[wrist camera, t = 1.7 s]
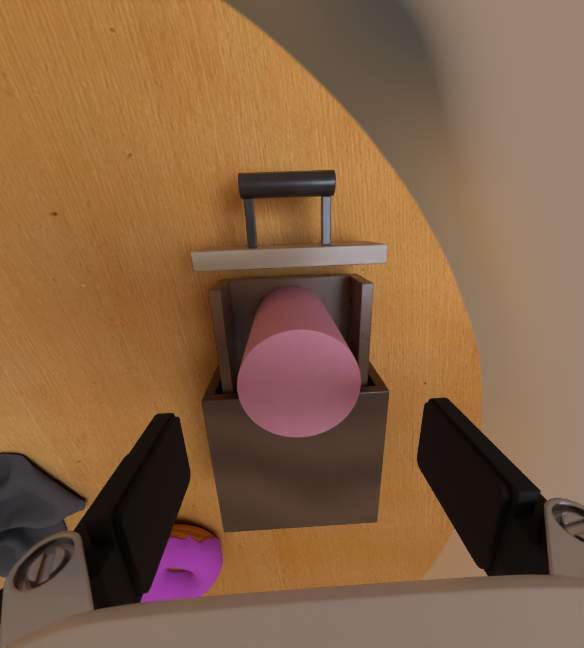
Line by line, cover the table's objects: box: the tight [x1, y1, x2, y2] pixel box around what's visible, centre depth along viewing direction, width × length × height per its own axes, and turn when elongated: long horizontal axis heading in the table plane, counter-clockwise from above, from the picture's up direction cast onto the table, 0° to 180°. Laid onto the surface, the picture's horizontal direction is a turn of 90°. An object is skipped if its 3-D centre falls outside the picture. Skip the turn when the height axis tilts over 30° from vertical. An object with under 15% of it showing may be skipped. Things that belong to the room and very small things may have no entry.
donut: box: [141, 524, 223, 602], centre depth 31 cm, size 10×10×5 cm
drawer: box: [191, 170, 388, 394], centre depth 21 cm, size 17×12×5 cm
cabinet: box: [201, 361, 389, 532], centre depth 25 cm, size 14×14×7 cm
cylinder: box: [237, 286, 361, 437], centre depth 18 cm, size 6×6×10 cm
